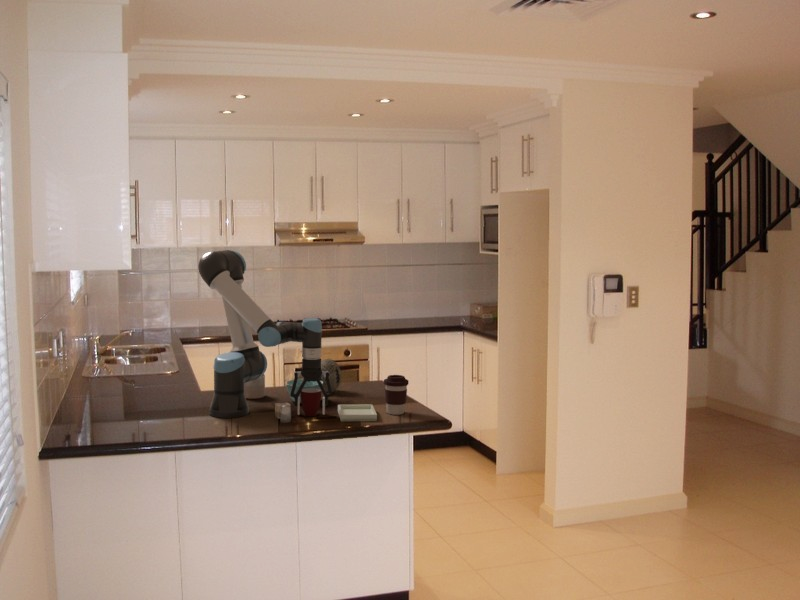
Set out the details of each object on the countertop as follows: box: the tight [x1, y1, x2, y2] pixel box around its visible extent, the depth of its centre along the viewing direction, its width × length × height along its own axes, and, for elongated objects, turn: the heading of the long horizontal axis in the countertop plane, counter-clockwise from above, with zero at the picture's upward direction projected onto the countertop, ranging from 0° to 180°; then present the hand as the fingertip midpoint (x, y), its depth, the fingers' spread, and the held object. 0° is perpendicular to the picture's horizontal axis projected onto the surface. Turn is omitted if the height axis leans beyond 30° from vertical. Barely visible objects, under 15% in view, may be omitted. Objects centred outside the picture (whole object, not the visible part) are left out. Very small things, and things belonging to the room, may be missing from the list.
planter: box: [244, 373, 266, 400], centre depth 353 cm, size 11×11×10 cm
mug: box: [300, 388, 322, 417], centre depth 325 cm, size 11×8×10 cm
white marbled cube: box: [274, 402, 291, 419], centre depth 320 cm, size 5×5×5 cm
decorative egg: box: [319, 358, 342, 393], centre depth 365 cm, size 12×12×15 cm
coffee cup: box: [383, 374, 409, 416], centre depth 330 cm, size 10×10×15 cm
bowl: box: [285, 378, 323, 404], centre depth 347 cm, size 16×16×8 cm
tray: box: [337, 403, 378, 422], centre depth 325 cm, size 14×17×2 cm
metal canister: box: [279, 404, 292, 424], centre depth 314 cm, size 4×4×6 cm
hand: (311, 413), depth 325 cm, fingers open, 9 cm apart
